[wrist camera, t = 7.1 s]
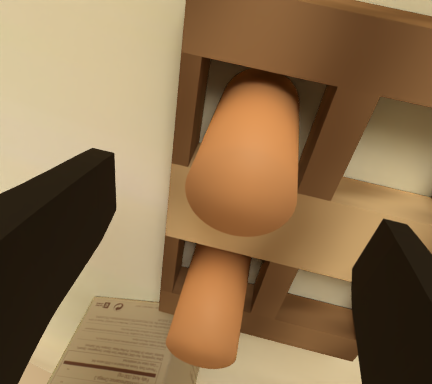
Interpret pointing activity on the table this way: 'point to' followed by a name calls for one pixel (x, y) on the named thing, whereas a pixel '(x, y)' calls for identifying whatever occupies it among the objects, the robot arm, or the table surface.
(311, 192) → the wooden grid frame
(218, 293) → the pin
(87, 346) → the supplement box
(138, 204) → the table surface
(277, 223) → the loose pin
